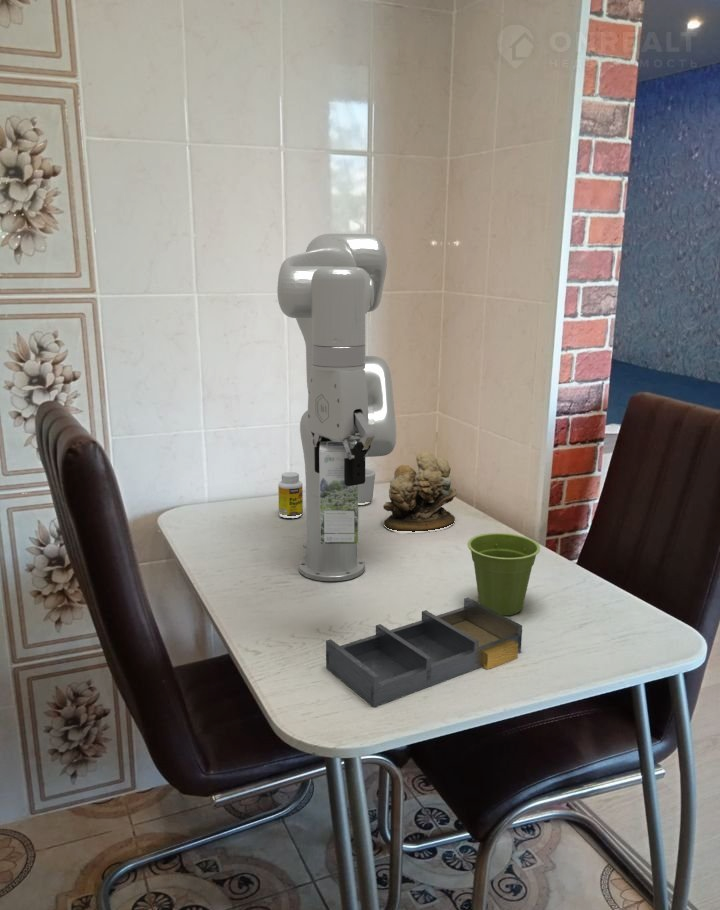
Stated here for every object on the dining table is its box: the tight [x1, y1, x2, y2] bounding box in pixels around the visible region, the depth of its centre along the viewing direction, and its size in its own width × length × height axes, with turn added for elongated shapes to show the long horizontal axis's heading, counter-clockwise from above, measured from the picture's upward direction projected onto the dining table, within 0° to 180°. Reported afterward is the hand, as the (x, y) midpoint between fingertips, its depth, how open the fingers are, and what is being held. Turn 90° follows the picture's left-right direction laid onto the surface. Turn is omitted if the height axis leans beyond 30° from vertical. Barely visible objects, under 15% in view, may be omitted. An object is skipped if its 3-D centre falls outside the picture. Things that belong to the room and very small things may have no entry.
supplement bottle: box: [277, 471, 304, 516], centre depth 173 cm, size 6×6×10 cm
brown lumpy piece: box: [383, 451, 458, 532], centre depth 167 cm, size 18×12×17 cm, turn 117°
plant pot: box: [467, 532, 541, 617], centre depth 125 cm, size 12×12×11 cm
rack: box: [325, 597, 523, 708], centre depth 108 cm, size 13×27×4 cm, turn 124°
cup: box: [358, 467, 376, 503], centre depth 184 cm, size 11×8×8 cm
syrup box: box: [319, 441, 359, 545], centre depth 110 cm, size 6×6×14 cm
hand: (339, 477), depth 110 cm, fingers closed on syrup box, 7 cm apart
